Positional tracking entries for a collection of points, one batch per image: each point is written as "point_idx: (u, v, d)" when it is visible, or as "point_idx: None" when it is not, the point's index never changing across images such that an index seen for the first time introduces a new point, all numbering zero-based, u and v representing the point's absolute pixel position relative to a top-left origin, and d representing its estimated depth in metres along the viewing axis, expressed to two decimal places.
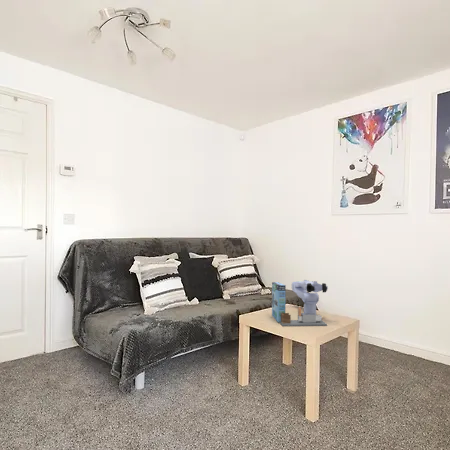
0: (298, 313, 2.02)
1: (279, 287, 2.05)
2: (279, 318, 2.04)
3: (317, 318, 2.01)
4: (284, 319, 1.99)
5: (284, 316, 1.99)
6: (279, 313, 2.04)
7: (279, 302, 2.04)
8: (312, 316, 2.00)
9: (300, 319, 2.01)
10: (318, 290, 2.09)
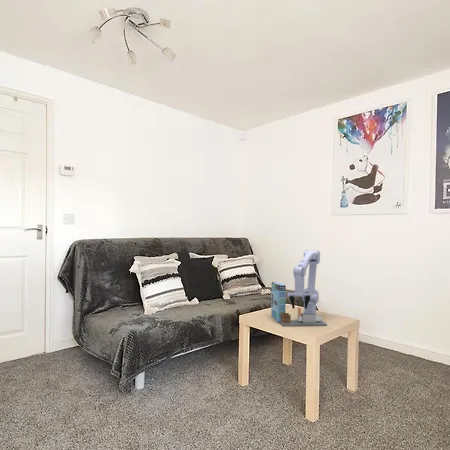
0: (298, 313, 2.02)
1: (279, 287, 2.05)
2: (279, 318, 2.04)
3: (317, 318, 2.01)
4: (284, 319, 1.99)
5: (284, 316, 1.99)
6: (279, 313, 2.04)
7: (279, 302, 2.04)
8: (312, 316, 2.00)
9: (300, 319, 2.01)
10: None
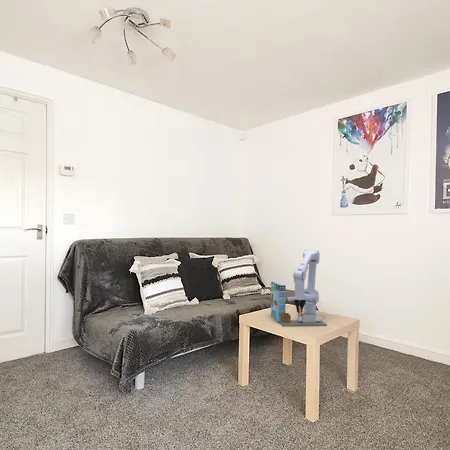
0: (298, 313, 2.02)
1: (279, 287, 2.05)
2: (279, 318, 2.04)
3: (317, 318, 2.01)
4: (284, 319, 1.99)
5: (284, 316, 1.99)
6: (279, 313, 2.04)
7: (279, 302, 2.04)
8: (312, 316, 2.00)
9: (300, 319, 2.01)
10: None
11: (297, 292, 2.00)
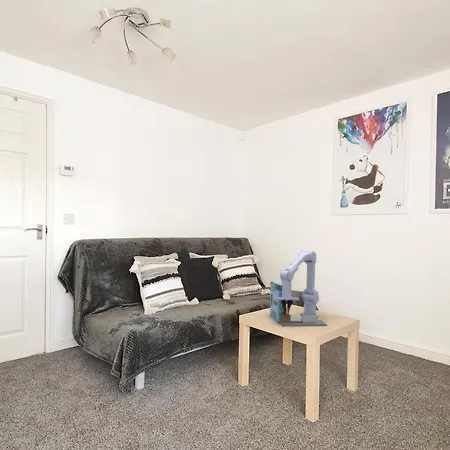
0: (285, 313, 2.02)
1: (279, 287, 2.05)
2: (279, 318, 2.04)
3: None
4: (284, 319, 1.99)
5: (284, 316, 1.99)
6: (279, 313, 2.04)
7: (279, 302, 2.04)
8: (312, 316, 2.00)
9: None
10: None
11: (284, 292, 2.00)
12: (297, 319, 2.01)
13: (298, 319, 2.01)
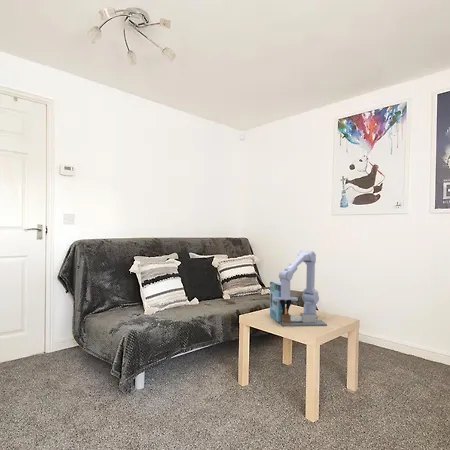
0: (284, 313, 2.02)
1: (279, 287, 2.05)
2: (279, 318, 2.04)
3: None
4: (284, 319, 1.99)
5: (284, 316, 1.99)
6: (279, 313, 2.04)
7: (279, 302, 2.04)
8: (312, 316, 2.00)
9: None
10: None
11: (283, 292, 2.00)
12: (296, 319, 2.01)
13: (297, 319, 2.01)
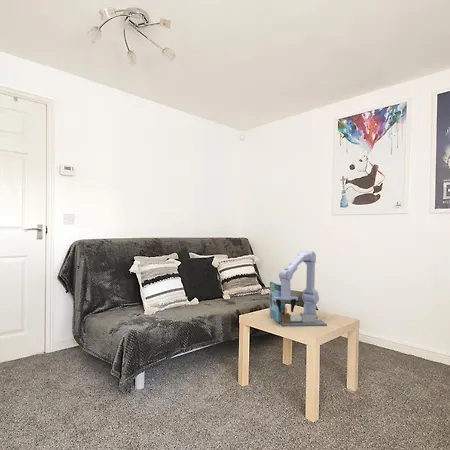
0: (284, 313, 2.02)
1: (279, 287, 2.05)
2: (279, 318, 2.04)
3: None
4: (284, 319, 1.99)
5: (284, 316, 1.99)
6: (279, 313, 2.04)
7: None
8: (312, 316, 2.00)
9: None
10: None
11: (283, 292, 2.00)
12: (296, 319, 2.01)
13: (297, 319, 2.01)
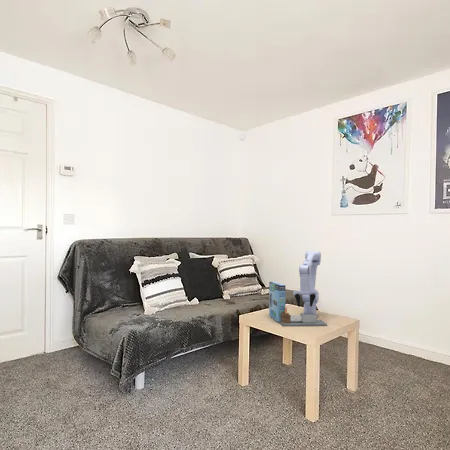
0: (284, 313, 2.02)
1: (279, 287, 2.05)
2: (279, 318, 2.04)
3: None
4: (284, 319, 1.99)
5: (284, 316, 1.99)
6: (279, 313, 2.04)
7: (279, 302, 2.04)
8: (312, 316, 2.00)
9: None
10: None
11: (303, 286, 2.04)
12: (296, 319, 2.01)
13: (297, 319, 2.01)
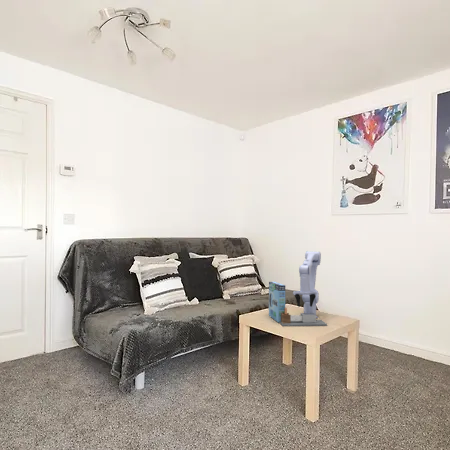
0: (284, 313, 2.02)
1: (279, 287, 2.05)
2: (279, 318, 2.04)
3: None
4: (284, 319, 1.99)
5: (284, 316, 1.99)
6: (279, 313, 2.04)
7: (279, 302, 2.04)
8: (312, 316, 2.00)
9: None
10: None
11: (303, 286, 2.04)
12: (296, 319, 2.01)
13: (297, 319, 2.01)
